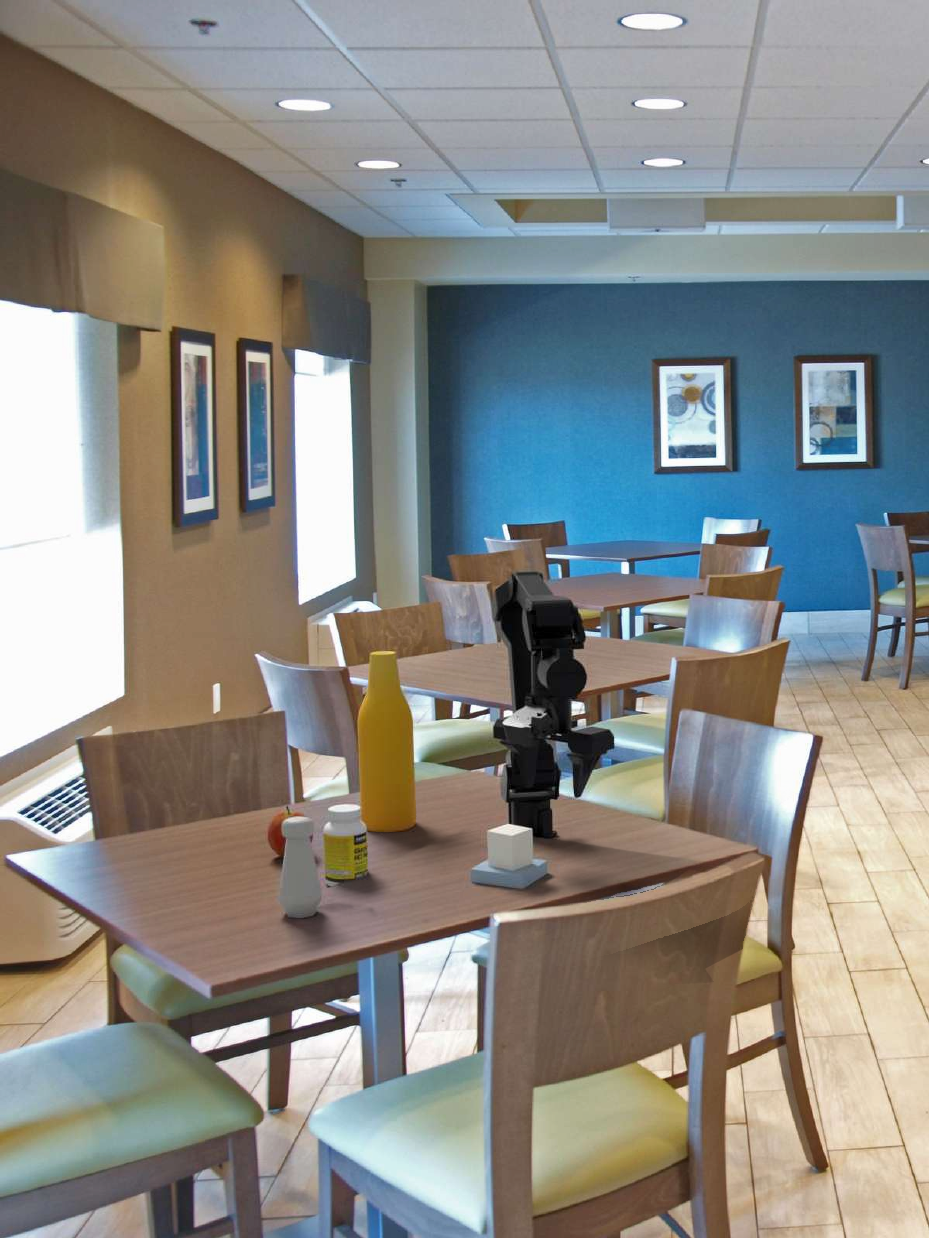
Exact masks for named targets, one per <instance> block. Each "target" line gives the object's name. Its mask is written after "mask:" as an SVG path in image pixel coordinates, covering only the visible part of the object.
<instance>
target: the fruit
mask: <svg viewBox="0 0 929 1238" xmlns="http://www.w3.org/2000/svg"><path fill="white" fill-rule="evenodd" d="M285 808H286V811H287V812H281V813H278V814H277V815H275V816H274V817H273V818H272V819H271V821H270V823H269V825H268V827H267V841H268V845H269V847H270V848H271V849H272V851H273V852H275V854H277V856H280V857H282V858H284V853H285V845H286V838H285V837H283V835H282V830H281V828H282V822H283V821H284V820H285V819H287V818H291V817H307V816H306V815H305V814H303V813H300V812H297V811H294V812H293V811H290V809H289V806H288V805H286V806H285ZM313 838H314V834H313V835H311V836H310V841H311V844H312V842H313V840H314V839H313Z"/></svg>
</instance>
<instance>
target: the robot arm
mask: <svg viewBox="0 0 929 1238" xmlns="http://www.w3.org/2000/svg"><path fill="white" fill-rule="evenodd" d="M491 600H492V601H491V608H490V609H491V618H492V619H491V620H492V621H493V622H495V626H496V627H495V628H496V634H497V636H498V637H499V638H500V640H501V641H502V642H503V644H504V645H505V647H506V648H507V652H508V653H507V656H508V667H509V682H510V683H509V684H510V695H511V708H512V709H511V710H512V714H511V715H508V716H504V717H500V718H497V719H496V720H495V722H494V724H493V726H492V736H493V737H492V738H493V739H496V740H499V743H500V744H501V746H504V747H506V748H507V749H508V751H507V753H506V755H505V763H504V764H503V768H502V772H501V778H500V783H499V785H500V786H499V787H500V788H499V789H500V797H501V799H503V800H504V802H505V804H508V805H507V806H508V809H507V810H508V811H507V813H508V824H511V825H516V826H521V827H527V828H532V835H533V838H539V839H548V838H551V837H554V836H557V835H558V831H557V830H554V828H553V825H554V824H553V823H554V822H553V809H552V808H551V800H555V801H556V800H557V801H558V799H559V798H560V784H561V779H562V770H561V769H560V768H559V765H558V762H557V761H555V755H554V753H555V752H554V748H553V746H552V744H551V743H549V742H548V741H553V742H554V741H555V742H558V743H559V742H560V743H563V744H564V743H565V744H567V747H568V749H569V750H570V752H569V753H566V757H567V758H568V759H569V760H570V762H571V763H572V764H571V765H572V790H573V791H572V792H573V797H574V798H575V799H579V798H581V797H582V796H583V793H584V791H585V789H586V786H587V784H588V782H589V780H590V778H591V775H592V773H593V770H594V769H595V767H596V765H597V764H598V761H599V760H600V759H601V757H602V755H605V754H606V755H607V753H608V751H611V750H614V749H615V735H614V733H613V732H612V731H611V729H610V728H609V729H608V728H603V727H596V726H587V727H584V728H580V729H576V730H573V729H574V728H578V727H579V726H578V725H579V721H578V719H575V718H573V713H572V712H573V708H572V703H573V701H574V700H578V696H579V695H580V694H581V693H582V692H583V690H584V689H585V687H586V684H587V680H588V676H587V675H588V674H587V672H586V669H585V666H584V665H583V664H582V663H581V662H580V661H579V660H578V659H576V658H575V656H574V655H575V653H574V650H584V649H585V643H586V640H587V639H586V638H587V636H586V635H587V634H586V632H585V628H584V623H583V617H582V615H581V613H580V612H579V608H578V607H577V606H575V604H574V602H573V601H572V599H571V598H569V597H566V596H563V595H562V596H561V595H556V594H553V592H552V590H551V589H550V588H549V586H548V585H547V584H546V582H545V581H544V575H543V573H542V572H539V571H537V570H529V571H527V570H525V571H523V570H522V571H514V572H513V573H509V576H508V580H507V581H505V582H504V583H502V584H501V585H499V586H498V587H497V588H496V589H495V590H494V592H493V595H492V599H491Z"/></svg>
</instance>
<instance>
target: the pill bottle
mask: <svg viewBox="0 0 929 1238" xmlns="http://www.w3.org/2000/svg"><path fill="white" fill-rule="evenodd" d="M327 813H328V815H327V816H328V819H329V822H327V823H326V824H325V825H324V828H323V847H324V848H323V853H324V856H323V857H324V879H325V884H326V885H327V886H329V887H334V886H336V885H338V884H341V883H344V882H346V881H351V880H352V881H353V880H359V879H362V878H365V877H366V876H367V875H369V861H368V858H369V857H368V830H367V828H366V825H365V824H364V823H363V822H362V821H361V807H360V805H358V804H347V803H346V804H344V803H343V804H337V805H332V806H330V807H328V809H327Z"/></svg>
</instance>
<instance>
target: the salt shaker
mask: <svg viewBox="0 0 929 1238" xmlns="http://www.w3.org/2000/svg"><path fill="white" fill-rule="evenodd" d="M314 826H315V825H314V822H313V820H312V819H311V818H309V817H307V816H306V817H291V818H287V819H285V820H284V821H283V822H282V828H281V830H282V835H283V837H285V838H286V845H285V853H284V857H283V862H282V867H281V878H280V885H279V891H278V901H279V904H280V905H281V907H282V908H283V910H284V912H285V914H286V916H287V918H295V919H302V918H307V917H313V916H314V915H315V914H316V912H317V910H318V909H319V905H320V903H321V901H322V895H323V892H322V887H321V883H320V879H319V878H320V877H319V873H318V869H317V868H318V867H317V864H316V860H315V855H314V850H313V846H312V843H311V841H310V836H311V835H313V836H314V828H315V827H314Z"/></svg>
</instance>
